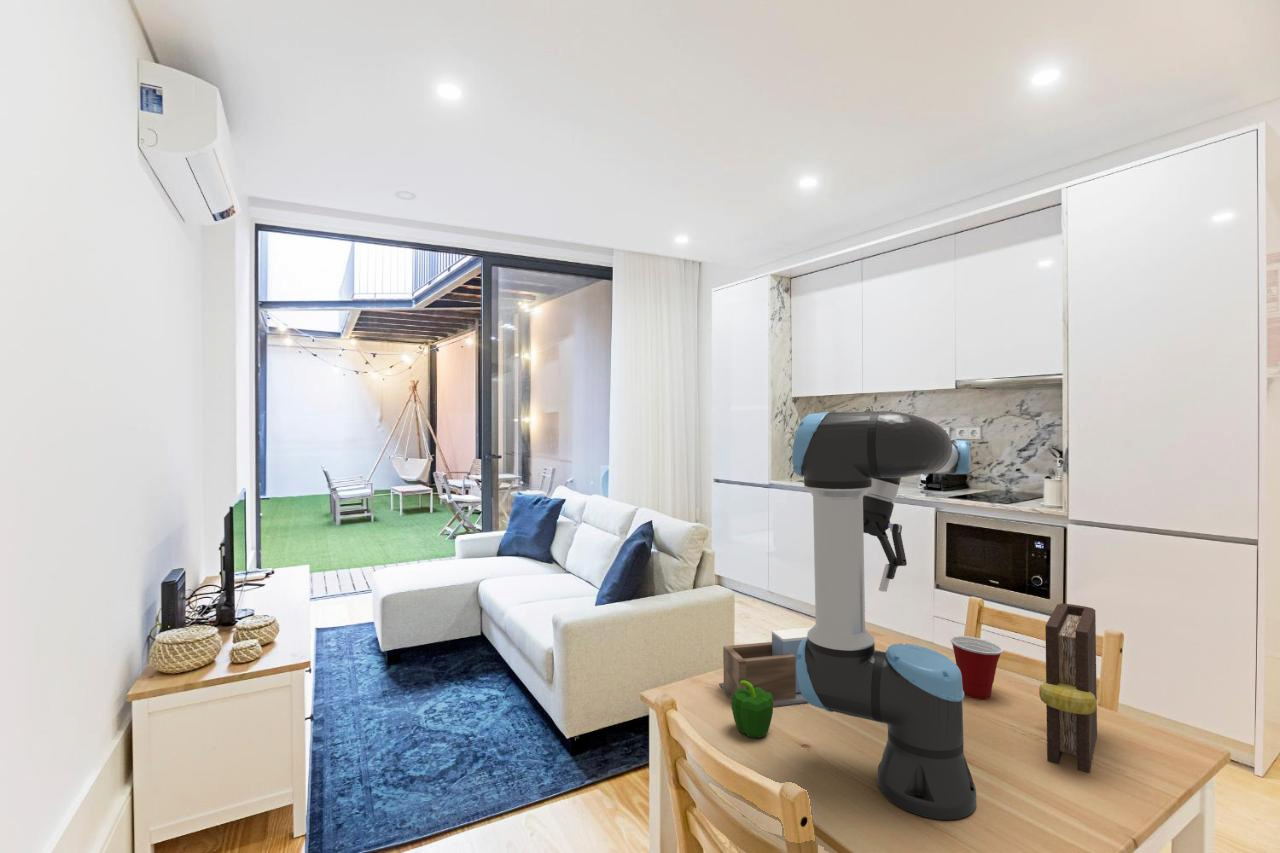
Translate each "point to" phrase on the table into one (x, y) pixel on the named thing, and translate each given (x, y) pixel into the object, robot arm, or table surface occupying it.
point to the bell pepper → (752, 710)
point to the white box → (788, 644)
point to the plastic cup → (976, 664)
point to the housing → (761, 672)
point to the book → (1071, 684)
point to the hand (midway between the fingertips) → (856, 580)
